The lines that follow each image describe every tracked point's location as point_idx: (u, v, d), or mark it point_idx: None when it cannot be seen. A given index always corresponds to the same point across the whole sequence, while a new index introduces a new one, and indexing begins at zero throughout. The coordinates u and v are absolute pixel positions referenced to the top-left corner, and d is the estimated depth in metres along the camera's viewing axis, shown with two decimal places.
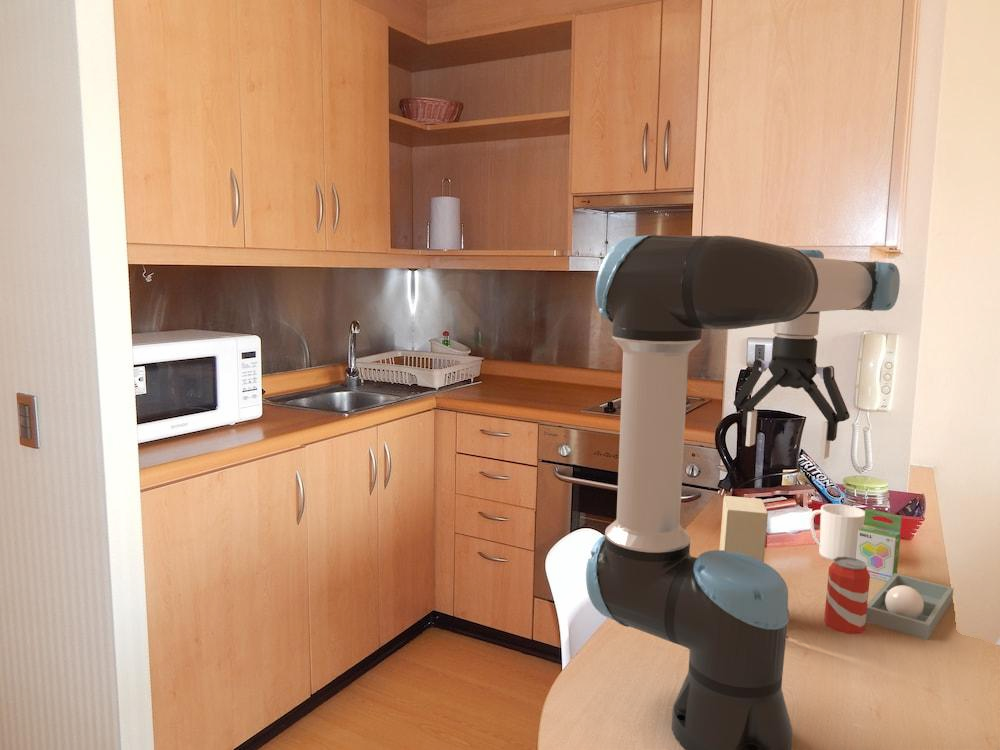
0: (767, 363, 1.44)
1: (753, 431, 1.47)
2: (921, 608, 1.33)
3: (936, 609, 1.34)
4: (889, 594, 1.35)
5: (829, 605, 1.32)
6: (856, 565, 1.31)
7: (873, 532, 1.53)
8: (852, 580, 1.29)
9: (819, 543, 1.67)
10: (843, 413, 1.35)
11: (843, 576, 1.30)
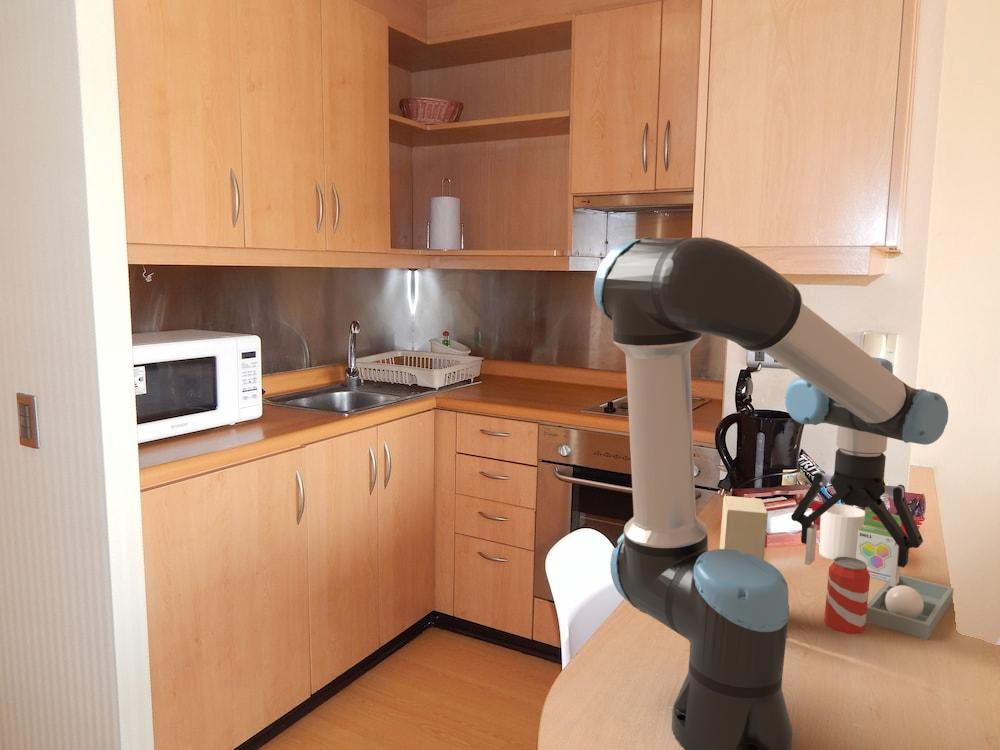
0: (829, 477, 1.32)
1: (813, 548, 1.36)
2: (921, 608, 1.33)
3: (936, 609, 1.34)
4: (889, 594, 1.35)
5: (829, 605, 1.32)
6: (857, 565, 1.31)
7: (873, 532, 1.53)
8: (852, 580, 1.29)
9: (819, 543, 1.67)
10: (916, 539, 1.24)
11: (843, 576, 1.30)
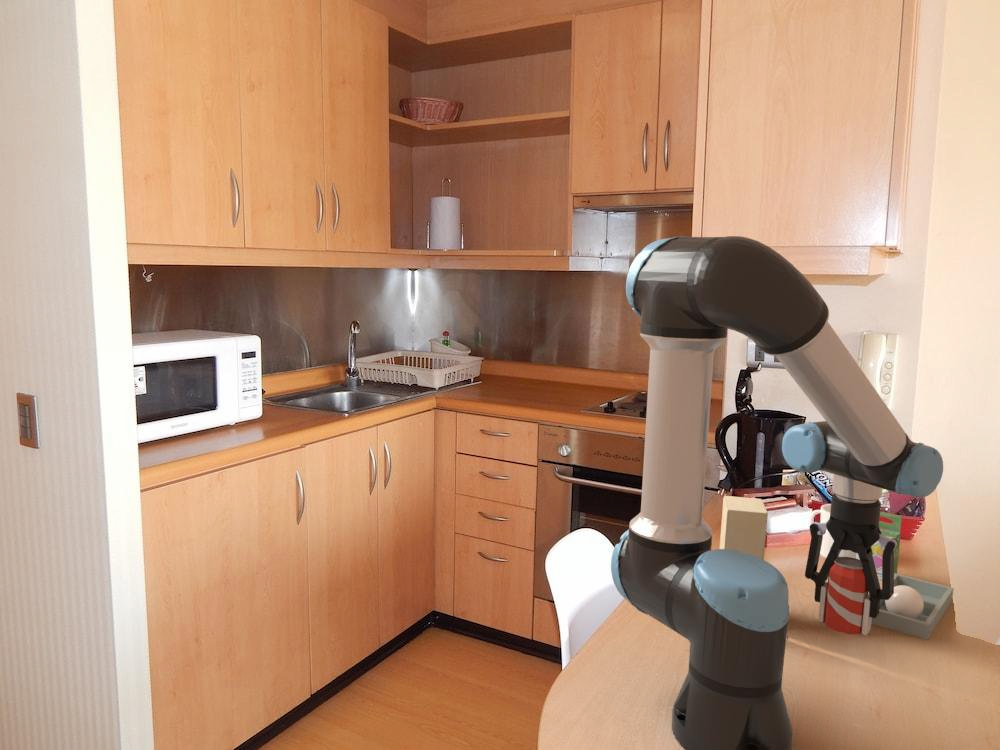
0: (824, 525, 1.33)
1: None
2: (921, 608, 1.33)
3: (936, 609, 1.34)
4: None
5: (829, 605, 1.32)
6: (857, 564, 1.31)
7: None
8: (852, 580, 1.29)
9: None
10: (889, 593, 1.27)
11: (843, 575, 1.30)
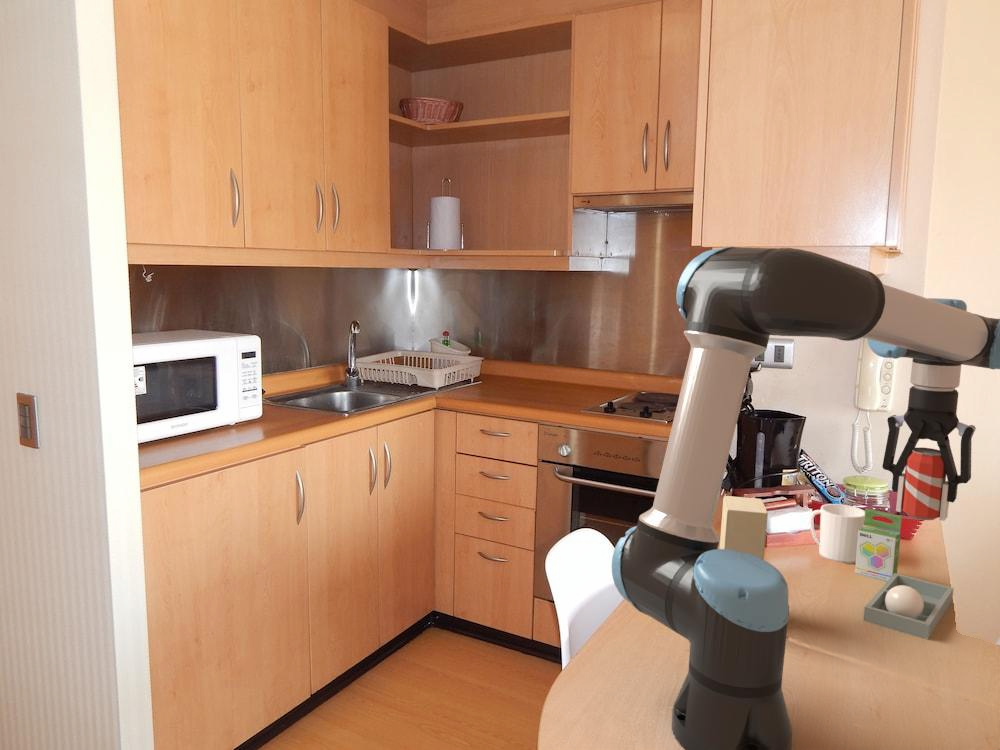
0: (901, 417, 1.40)
1: None
2: (921, 608, 1.33)
3: (936, 609, 1.34)
4: (889, 594, 1.35)
5: (907, 492, 1.39)
6: (934, 453, 1.38)
7: (873, 532, 1.53)
8: (931, 466, 1.36)
9: (819, 543, 1.67)
10: (967, 476, 1.34)
11: (922, 462, 1.36)
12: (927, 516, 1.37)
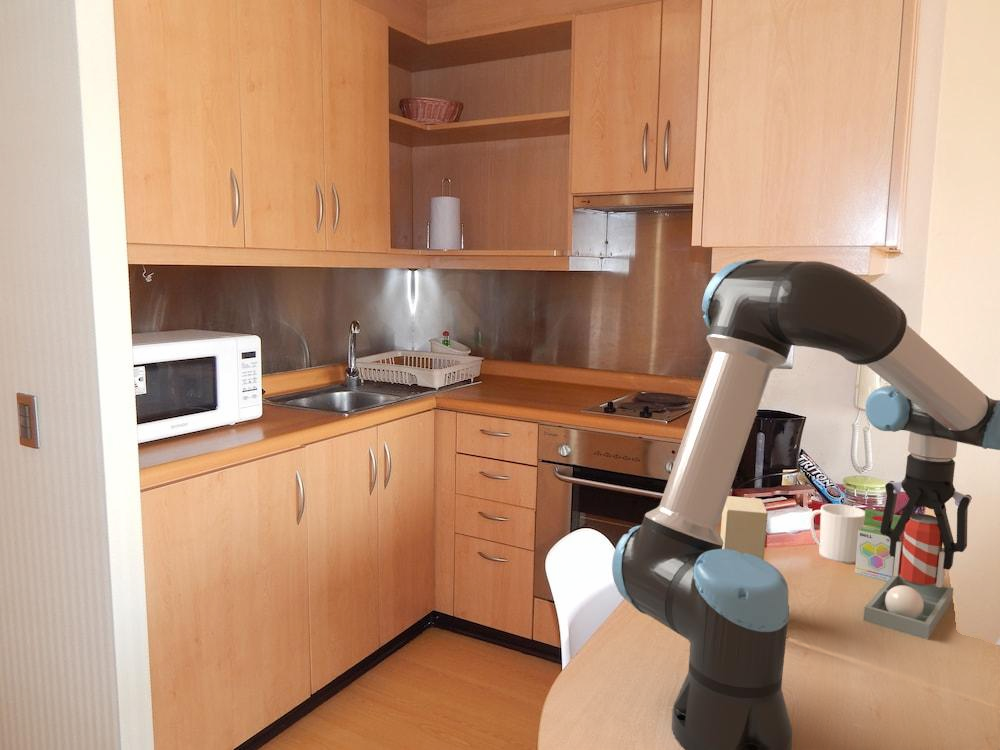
0: (899, 484, 1.42)
1: None
2: (921, 608, 1.33)
3: (936, 609, 1.34)
4: (889, 594, 1.35)
5: (905, 558, 1.41)
6: (931, 520, 1.40)
7: (873, 532, 1.53)
8: (928, 534, 1.38)
9: (819, 543, 1.67)
10: (963, 545, 1.36)
11: (920, 530, 1.39)
12: (924, 582, 1.39)
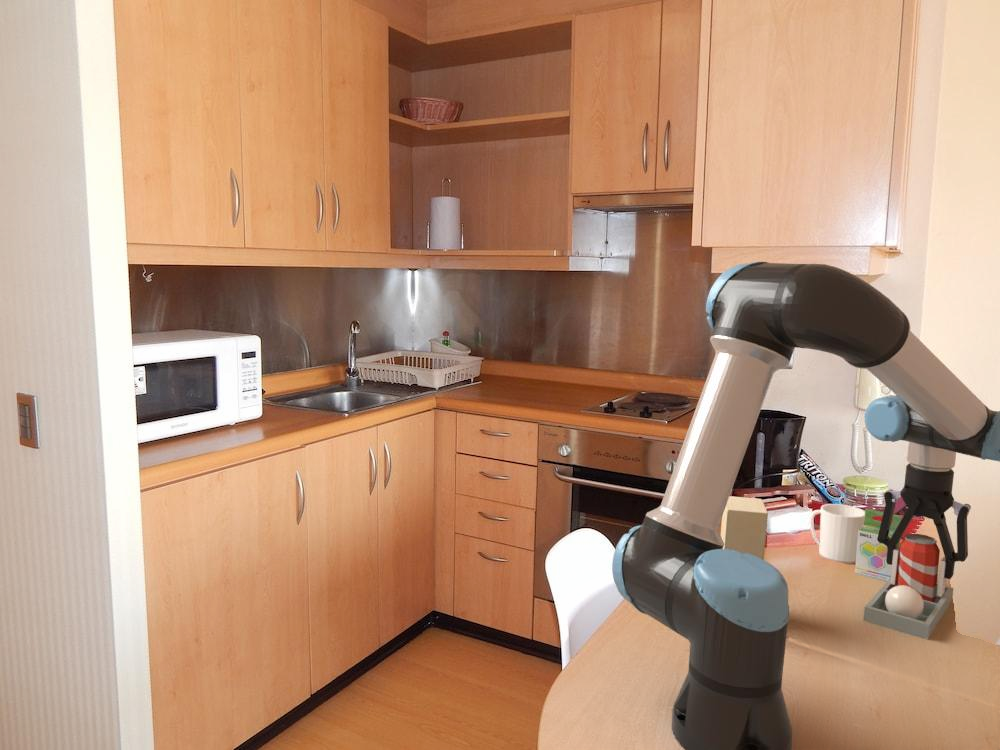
0: (898, 493, 1.43)
1: None
2: (921, 608, 1.33)
3: (936, 609, 1.34)
4: (889, 594, 1.35)
5: (901, 579, 1.42)
6: (927, 540, 1.41)
7: (873, 532, 1.53)
8: (924, 555, 1.39)
9: (819, 543, 1.67)
10: (964, 555, 1.36)
11: (915, 550, 1.39)
12: None
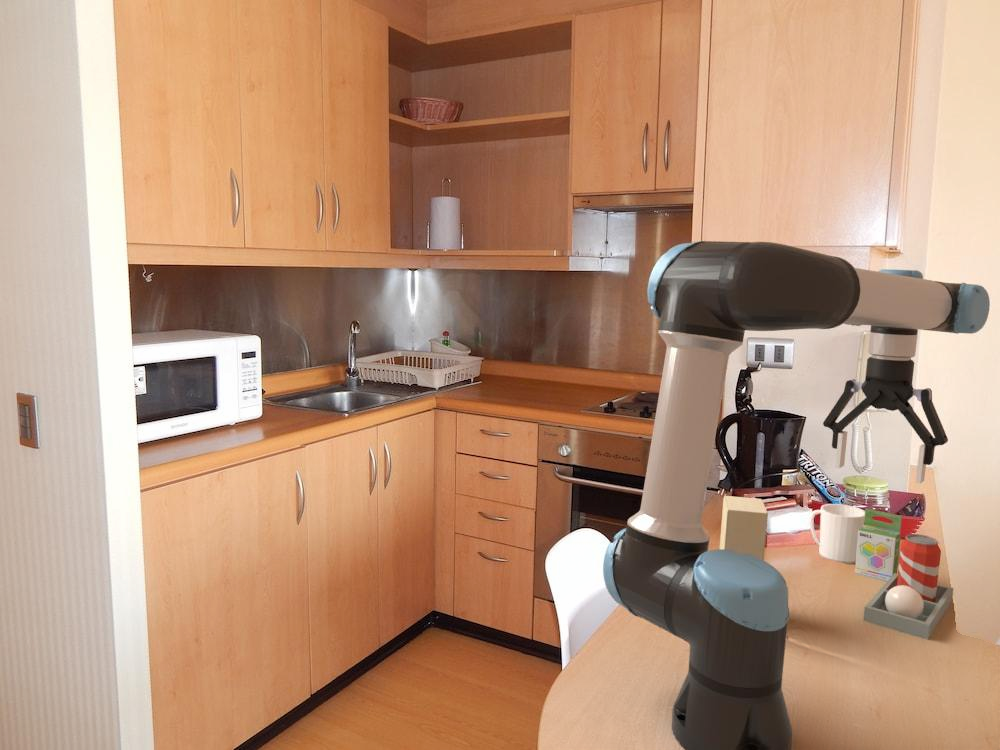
0: (860, 384, 1.42)
1: (843, 453, 1.45)
2: (921, 608, 1.33)
3: (936, 609, 1.34)
4: (889, 594, 1.35)
5: (902, 579, 1.42)
6: (928, 541, 1.41)
7: (873, 532, 1.53)
8: (925, 555, 1.39)
9: (819, 543, 1.67)
10: (942, 437, 1.33)
11: (917, 551, 1.39)
12: None
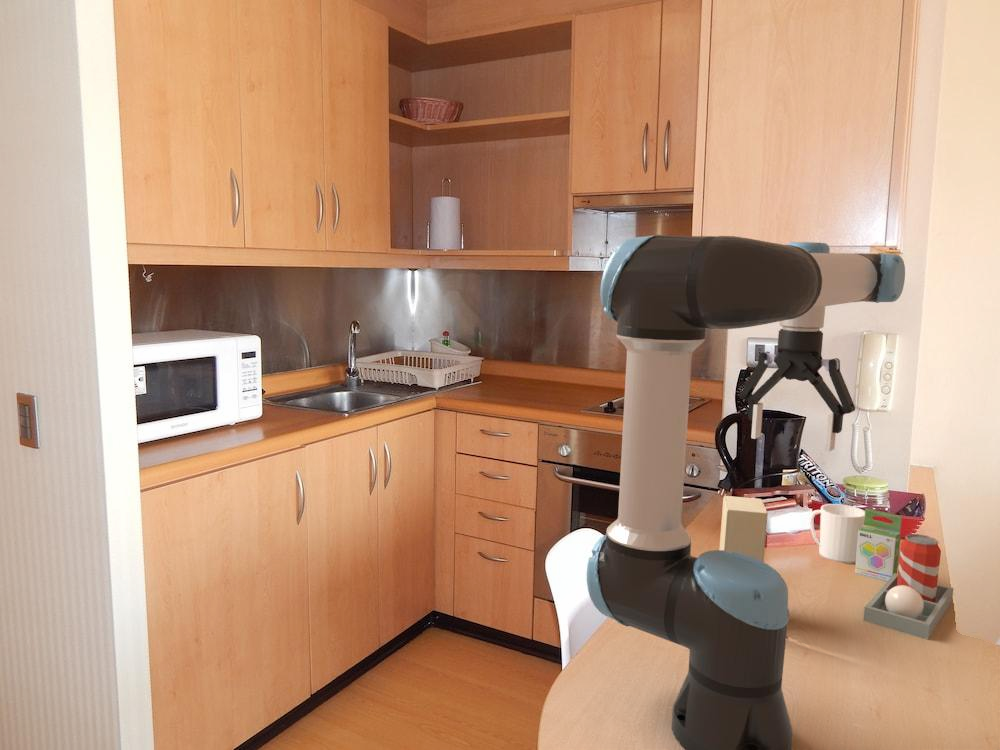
0: (773, 356, 1.44)
1: (759, 424, 1.48)
2: (921, 608, 1.33)
3: (936, 609, 1.34)
4: (889, 594, 1.35)
5: (902, 579, 1.42)
6: (928, 541, 1.41)
7: (873, 532, 1.53)
8: (925, 555, 1.39)
9: (819, 543, 1.67)
10: (848, 405, 1.36)
11: (916, 551, 1.39)
12: None
